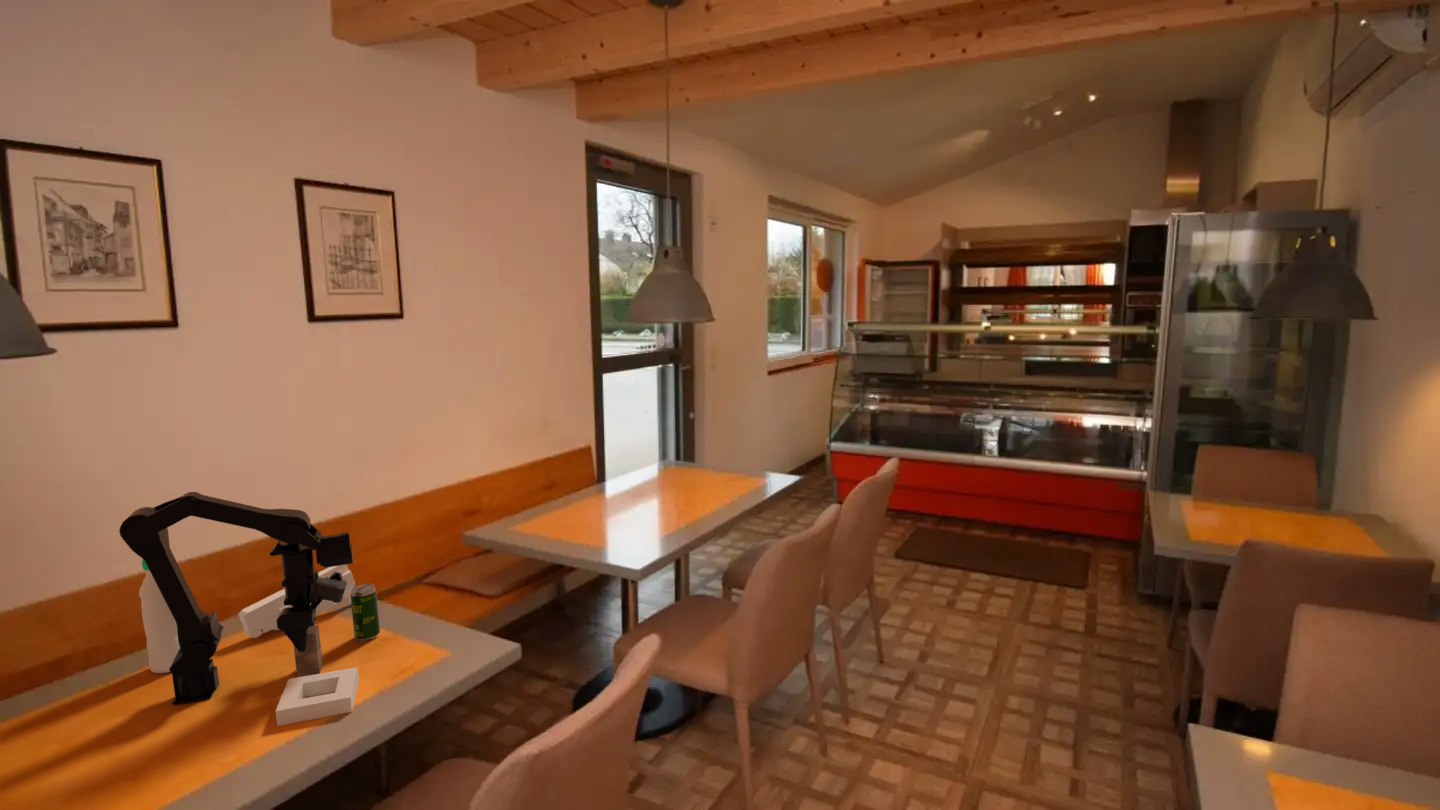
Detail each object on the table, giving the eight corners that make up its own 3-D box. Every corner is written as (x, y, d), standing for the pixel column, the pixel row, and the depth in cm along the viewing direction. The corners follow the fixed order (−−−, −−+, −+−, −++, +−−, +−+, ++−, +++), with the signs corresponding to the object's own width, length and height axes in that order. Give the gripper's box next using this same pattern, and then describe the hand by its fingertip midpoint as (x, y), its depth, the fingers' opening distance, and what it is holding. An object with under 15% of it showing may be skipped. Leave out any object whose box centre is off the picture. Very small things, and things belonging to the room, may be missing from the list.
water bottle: (185, 670, 158) (169, 559, 155) (145, 677, 156) (128, 564, 152) (194, 656, 165) (180, 548, 161) (156, 662, 162) (141, 553, 159)
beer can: (370, 629, 176) (365, 582, 175) (385, 634, 174) (380, 585, 172) (349, 639, 172) (344, 590, 170) (365, 643, 169) (360, 594, 167)
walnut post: (297, 677, 155) (292, 636, 153) (300, 668, 158) (296, 628, 157) (319, 673, 156) (315, 633, 155) (322, 664, 160) (318, 625, 159)
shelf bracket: (364, 606, 191) (350, 563, 187) (263, 662, 172) (245, 616, 168) (353, 601, 194) (339, 559, 190) (253, 656, 176) (235, 610, 172)
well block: (277, 726, 137) (275, 711, 136) (290, 693, 148) (288, 679, 148) (351, 711, 141) (350, 697, 141) (358, 680, 153) (357, 667, 152)
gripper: (335, 581, 148) (343, 654, 150) (347, 552, 165) (353, 618, 168) (272, 589, 144) (280, 664, 146) (290, 559, 162) (297, 626, 164)
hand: (306, 641), depth 156 cm, fingers open, 9 cm apart
